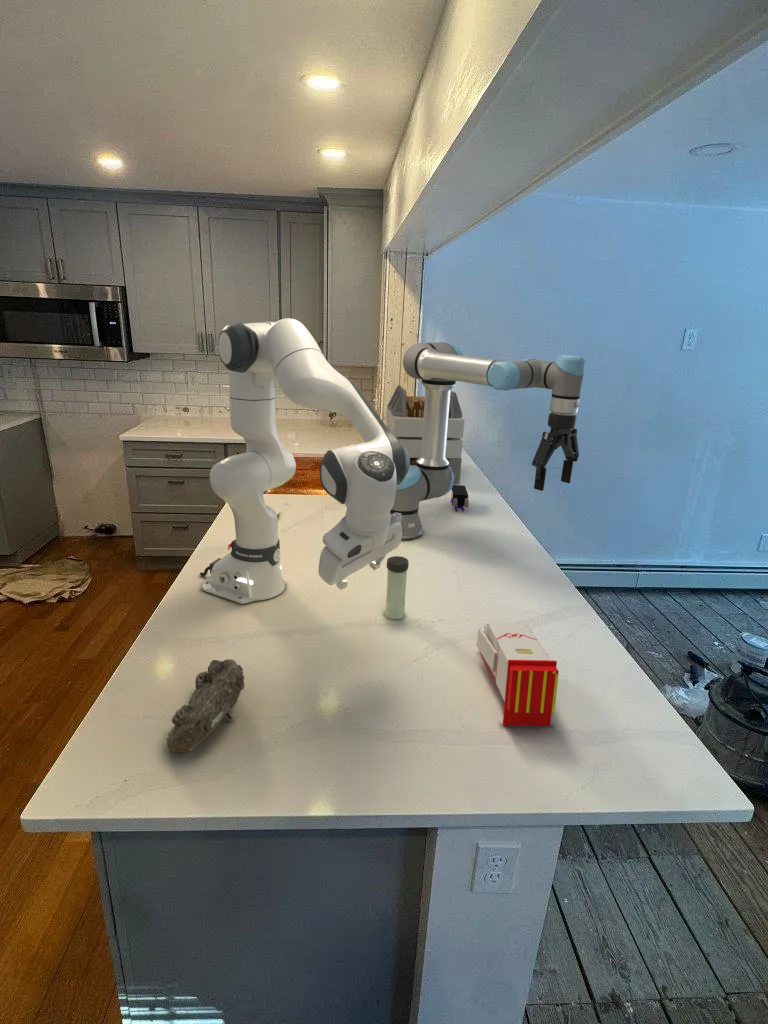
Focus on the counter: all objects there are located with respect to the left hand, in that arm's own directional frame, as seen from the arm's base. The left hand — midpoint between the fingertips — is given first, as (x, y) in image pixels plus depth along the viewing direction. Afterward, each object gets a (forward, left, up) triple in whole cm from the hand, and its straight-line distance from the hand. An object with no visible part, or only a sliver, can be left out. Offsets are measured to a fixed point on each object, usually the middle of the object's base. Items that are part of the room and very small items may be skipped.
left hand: (358, 576), depth 120 cm
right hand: (+37, +64, +7) cm, 74 cm away
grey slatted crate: (-23, +157, -21) cm, 160 cm away
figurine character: (+3, +114, -21) cm, 116 cm away
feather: (-58, +76, -21) cm, 98 cm away
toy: (+34, +4, -21) cm, 40 cm away
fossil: (-19, -27, -21) cm, 39 cm away
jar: (+3, +23, -21) cm, 31 cm away
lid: (+3, +23, -6) cm, 24 cm away
